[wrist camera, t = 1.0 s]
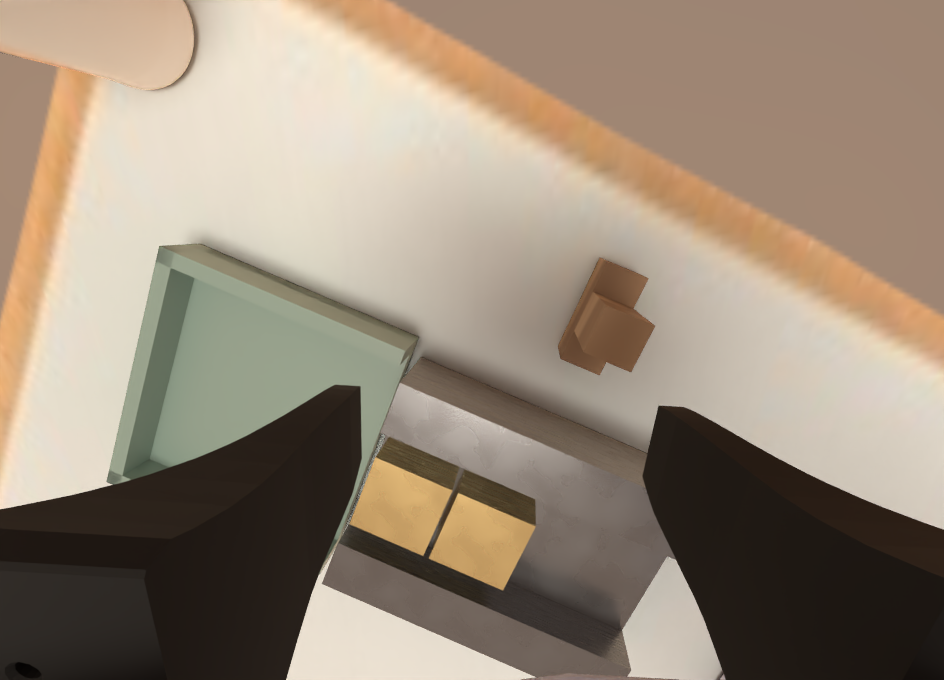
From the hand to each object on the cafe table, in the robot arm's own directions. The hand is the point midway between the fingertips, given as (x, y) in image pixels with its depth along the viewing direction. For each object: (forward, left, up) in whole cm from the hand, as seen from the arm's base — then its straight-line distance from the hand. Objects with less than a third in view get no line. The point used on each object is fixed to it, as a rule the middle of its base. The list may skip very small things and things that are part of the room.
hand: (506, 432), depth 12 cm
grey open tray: (-4, +10, -14) cm, 18 cm away
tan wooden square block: (+2, +10, -12) cm, 16 cm away
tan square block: (-2, +10, -12) cm, 16 cm away
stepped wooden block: (-3, -2, -14) cm, 15 cm away
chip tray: (+11, +10, -14) cm, 21 cm away
